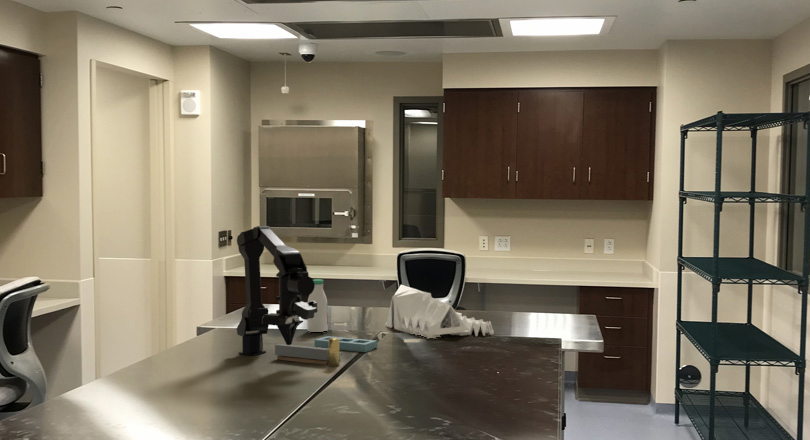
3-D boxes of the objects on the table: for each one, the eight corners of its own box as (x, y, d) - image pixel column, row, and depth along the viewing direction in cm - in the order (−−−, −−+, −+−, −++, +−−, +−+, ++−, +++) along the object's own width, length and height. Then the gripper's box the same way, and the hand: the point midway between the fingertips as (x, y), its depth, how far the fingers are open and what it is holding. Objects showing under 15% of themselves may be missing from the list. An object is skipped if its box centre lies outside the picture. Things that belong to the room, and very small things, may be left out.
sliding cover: (326, 360, 217) (326, 349, 217) (274, 354, 226) (274, 344, 226) (342, 355, 225) (342, 344, 225) (292, 350, 234) (292, 340, 234)
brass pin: (335, 367, 215) (335, 340, 215) (326, 366, 216) (326, 339, 216) (341, 365, 217) (341, 338, 217) (332, 364, 219) (332, 337, 219)
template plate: (325, 364, 218) (325, 361, 218) (277, 359, 226) (277, 355, 226) (339, 359, 225) (339, 356, 225) (292, 354, 234) (292, 351, 234)
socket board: (365, 352, 237) (365, 344, 237) (314, 347, 246) (314, 339, 246) (377, 348, 244) (377, 340, 244) (327, 343, 254) (327, 336, 254)
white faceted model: (496, 335, 271) (496, 291, 270) (435, 342, 257) (435, 295, 257) (436, 321, 306) (436, 282, 306) (380, 326, 293) (380, 285, 293)
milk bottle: (326, 333, 274) (326, 280, 274) (306, 333, 274) (305, 280, 274) (328, 330, 282) (328, 278, 282) (309, 330, 282) (308, 278, 282)
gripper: (292, 297, 205) (292, 352, 205) (328, 291, 221) (328, 342, 222) (260, 295, 210) (261, 349, 210) (298, 289, 226) (298, 339, 227)
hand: (288, 344), depth 217 cm, fingers closed
